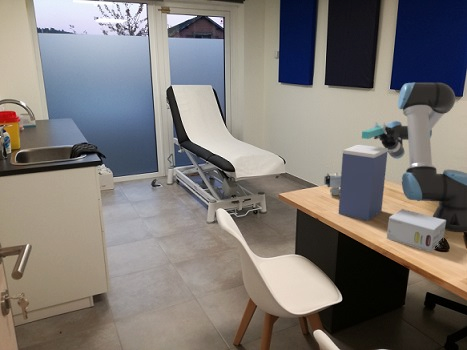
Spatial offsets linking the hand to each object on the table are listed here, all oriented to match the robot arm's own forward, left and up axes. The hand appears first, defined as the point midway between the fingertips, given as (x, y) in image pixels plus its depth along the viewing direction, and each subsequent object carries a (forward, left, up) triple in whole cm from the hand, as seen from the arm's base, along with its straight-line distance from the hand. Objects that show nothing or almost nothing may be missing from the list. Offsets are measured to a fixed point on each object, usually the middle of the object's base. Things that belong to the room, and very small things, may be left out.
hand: (378, 125), depth 182 cm
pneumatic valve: (+17, +10, -39) cm, 43 cm away
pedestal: (-9, +14, -39) cm, 42 cm away
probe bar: (-2, +3, -4) cm, 6 cm away
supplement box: (-42, +13, -39) cm, 58 cm away
